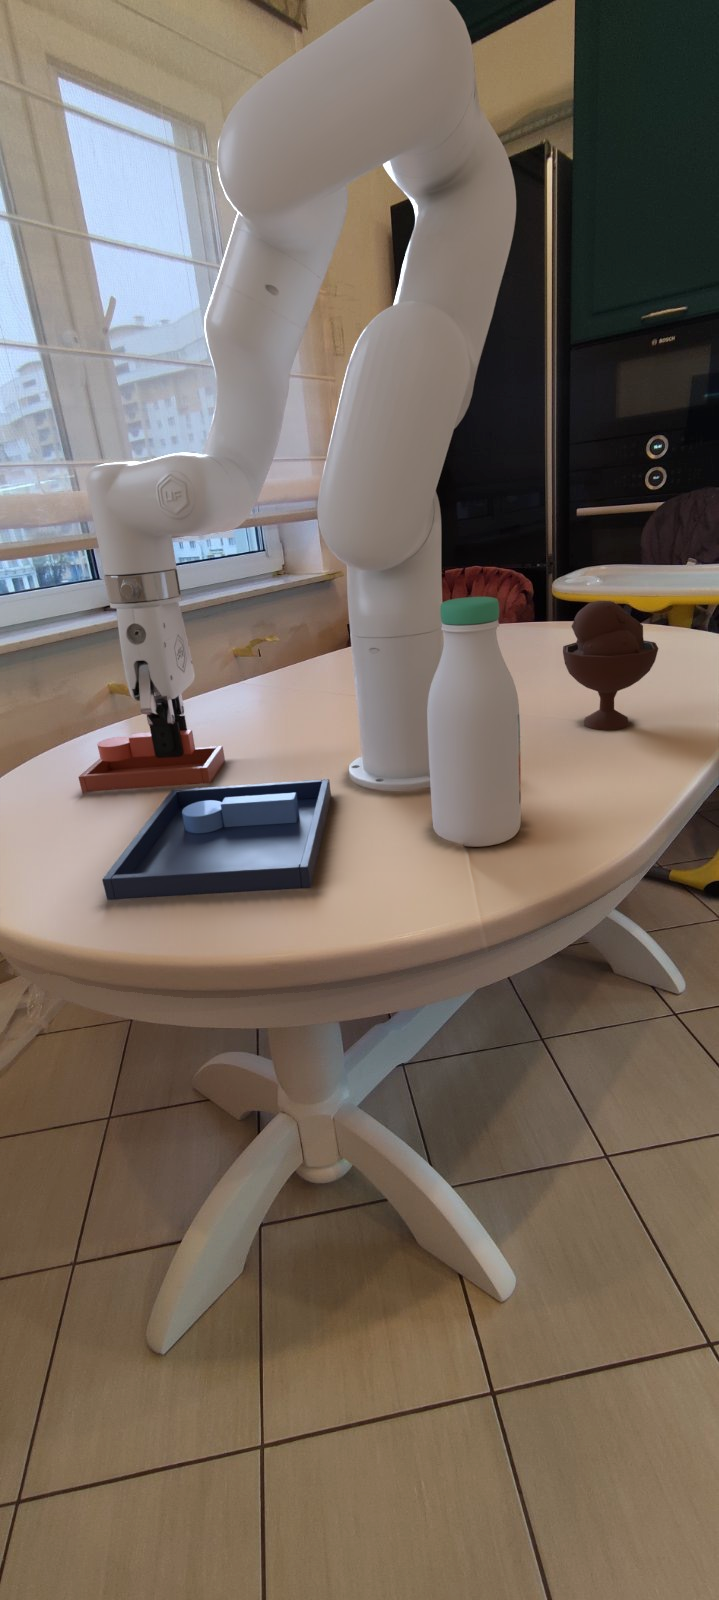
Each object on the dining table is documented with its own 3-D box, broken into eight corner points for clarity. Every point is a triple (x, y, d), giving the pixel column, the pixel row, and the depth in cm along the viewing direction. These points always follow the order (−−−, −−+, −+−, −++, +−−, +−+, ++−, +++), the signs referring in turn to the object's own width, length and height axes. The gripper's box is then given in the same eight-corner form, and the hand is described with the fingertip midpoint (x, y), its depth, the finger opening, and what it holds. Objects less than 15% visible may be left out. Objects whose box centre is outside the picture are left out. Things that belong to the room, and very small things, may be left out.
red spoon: (197, 746, 86) (194, 727, 85) (189, 757, 82) (185, 737, 81) (107, 751, 87) (103, 732, 86) (95, 762, 83) (90, 742, 82)
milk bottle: (520, 849, 60) (519, 603, 53) (428, 849, 62) (414, 609, 54) (520, 812, 67) (519, 590, 60) (437, 813, 69) (426, 596, 61)
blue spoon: (300, 810, 71) (297, 788, 70) (295, 827, 67) (292, 803, 66) (191, 818, 72) (186, 795, 71) (180, 835, 68) (175, 811, 67)
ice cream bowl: (642, 740, 83) (650, 606, 77) (547, 731, 89) (548, 606, 83) (663, 715, 91) (671, 592, 85) (575, 709, 97) (577, 593, 91)
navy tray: (331, 799, 74) (329, 778, 74) (311, 893, 56) (308, 866, 56) (176, 810, 76) (172, 789, 75) (108, 904, 58) (101, 879, 57)
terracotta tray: (225, 763, 89) (222, 745, 88) (210, 786, 81) (207, 767, 81) (108, 772, 90) (104, 754, 89) (82, 795, 83) (77, 776, 82)
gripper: (155, 596, 70) (186, 775, 77) (197, 580, 84) (220, 731, 91) (80, 601, 70) (117, 778, 77) (134, 584, 85) (162, 734, 92)
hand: (173, 751), depth 84 cm, fingers closed on red spoon, 2 cm apart
